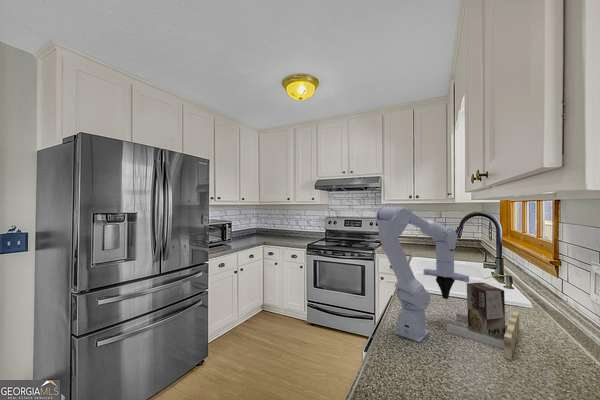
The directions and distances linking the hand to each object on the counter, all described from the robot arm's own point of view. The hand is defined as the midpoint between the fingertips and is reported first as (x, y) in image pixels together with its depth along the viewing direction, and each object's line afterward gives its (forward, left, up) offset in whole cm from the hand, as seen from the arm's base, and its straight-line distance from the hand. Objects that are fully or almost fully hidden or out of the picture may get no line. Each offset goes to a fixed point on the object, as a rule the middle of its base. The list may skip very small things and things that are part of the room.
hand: (445, 298), depth 93 cm
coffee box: (0, -12, -10) cm, 15 cm away
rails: (0, -10, -9) cm, 14 cm away
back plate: (0, -19, -9) cm, 21 cm away
